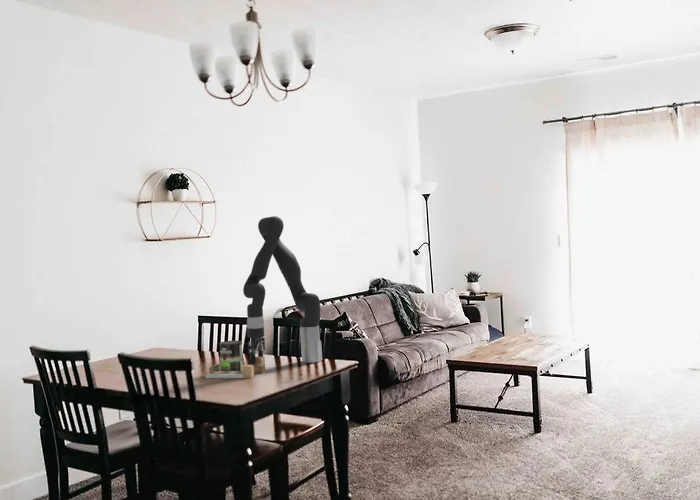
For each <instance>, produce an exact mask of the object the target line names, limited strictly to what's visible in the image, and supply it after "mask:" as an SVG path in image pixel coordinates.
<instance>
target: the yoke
mask: <svg viewBox="0 0 700 500" xmlns="http://www.w3.org/2000/svg"><path fill="white" fill-rule="evenodd" d="M265 362H266V357H265V356H263V357H258V356H256V364H251V363H250V365H254V375H255V374H256V375H257V374H265V373H266V363H265ZM245 365H246V364H243V366H245ZM208 369H209V371H208V374H243V371H221V364H220V362H219V363H216V364H214V365H211V366H209V367H208Z"/></svg>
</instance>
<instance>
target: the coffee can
mask: <svg viewBox="0 0 700 500" xmlns="http://www.w3.org/2000/svg"><path fill="white" fill-rule="evenodd" d="M242 344H243V341H242V340H227V341H226V340H225V341H224V340H223V341H221V342H219V344H218V345H219V358H220V359H219V363H220V364H221V371H243V369H242V367H243V365H244V364H243V362H244V361H243V346H242Z"/></svg>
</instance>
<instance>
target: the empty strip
mask: <svg viewBox="0 0 700 500" xmlns="http://www.w3.org/2000/svg"><path fill="white" fill-rule="evenodd" d="M244 365H245V366H243V367H242V369H243V374H209V373H207V374H205V378H206V379H253V378H254V377H255V374H254V365H251V364H244Z"/></svg>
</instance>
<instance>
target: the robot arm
mask: <svg viewBox="0 0 700 500" xmlns="http://www.w3.org/2000/svg"><path fill="white" fill-rule="evenodd" d="M257 228H258V231H259V234H260V236H261V237H262V239H263V240H264V243H263V244H262V246H261V248H260V249H259V251H258V253H257V254H256V256H255V258H254V261H253V264H252V267H251V271H250V274H249V275H248V277H247V279H246V281H245V282H244V285H243V288H242V290H243V291H242V292H243V295H244V296H245V298H247V299H252V302H251V303H250V304H247V306H246V308H247V309H246V310H247V311H246V313H247V320H246V326H247V329H246V330H247V338H249V339H250V341H247V355H248V356H250V358H249V359H250V365H251V364H256V357H264V351H266V341H265V322H264V311H263V306H264V302H265V299H266V288H265V286H264V284H262V283H260V282H261V281H263V280H264V279H266V278H267V273H268V271H269V270H268V269H269V267H270V263H271V259H272V256H273V258H274V260H275V262H276V264H277V267H278V269H279V271H280V272H281V274H282V276H283V278H284V281H285V282H286V285H287V287H288V288H289V289H288V290H289V291H290V293H291V296H292V300H293V302H294V304H295V306H296V308H297V309H298V310H299V311H300V312H303V313H304V317H303V318H302V319H301V320H300V321H299V329H300V330H299V331H300V347H301V348H300V349H301V351H300V352H301V363H307V364H312V363H314V364H315V363H320V362H322V360H323V351H322V349H323V348H322V341H321V339H320V337H321V336H320V321H321V302H320V298H319V295H317V294H316V293H310V292H309V293H308V292H307V291H306V290H305V287H304V286H303V283H302V270H301V267H300V264H299V262H298V260H297V258H296V256H295V254H294V253H293V252H292V251H291V250H290V249H289V248H288V247H287V246H286V245H285V244H284V243H283V242H282V241H281V239H280V237H281V236H282V234H283V230H284V222H283V220H282V218H281V217H279V216H275V215H274V216H269V217H263V218H261V219H259V221H258V224H257ZM256 355H257V356H256Z"/></svg>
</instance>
